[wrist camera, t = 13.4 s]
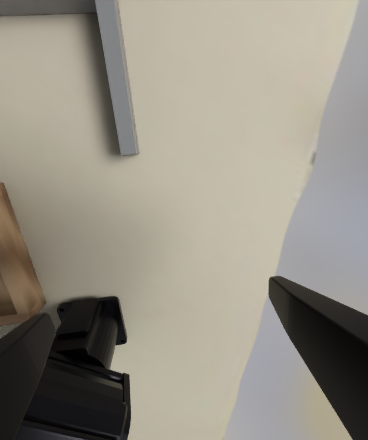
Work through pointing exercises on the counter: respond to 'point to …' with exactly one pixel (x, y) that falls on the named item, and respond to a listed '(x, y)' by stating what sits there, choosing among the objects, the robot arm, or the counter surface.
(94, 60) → the counter surface
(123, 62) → the bay
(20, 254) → the tray
